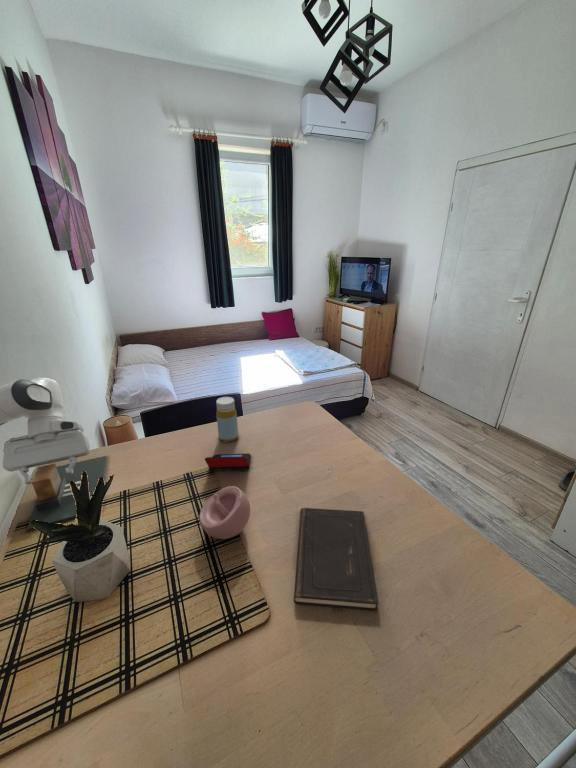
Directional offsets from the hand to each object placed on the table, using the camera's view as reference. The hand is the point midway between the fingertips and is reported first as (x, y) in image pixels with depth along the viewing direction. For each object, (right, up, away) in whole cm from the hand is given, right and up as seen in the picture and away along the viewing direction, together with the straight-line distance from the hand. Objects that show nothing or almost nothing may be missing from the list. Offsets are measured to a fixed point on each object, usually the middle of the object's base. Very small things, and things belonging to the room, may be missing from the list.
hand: (50, 478), depth 90 cm
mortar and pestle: (+51, -10, -11) cm, 53 cm away
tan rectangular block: (+1, -5, 0) cm, 5 cm away
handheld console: (+48, 0, +12) cm, 50 cm away
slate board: (+4, -4, +3) cm, 7 cm away
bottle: (+45, +7, +28) cm, 53 cm away
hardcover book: (+77, -12, -17) cm, 79 cm away
